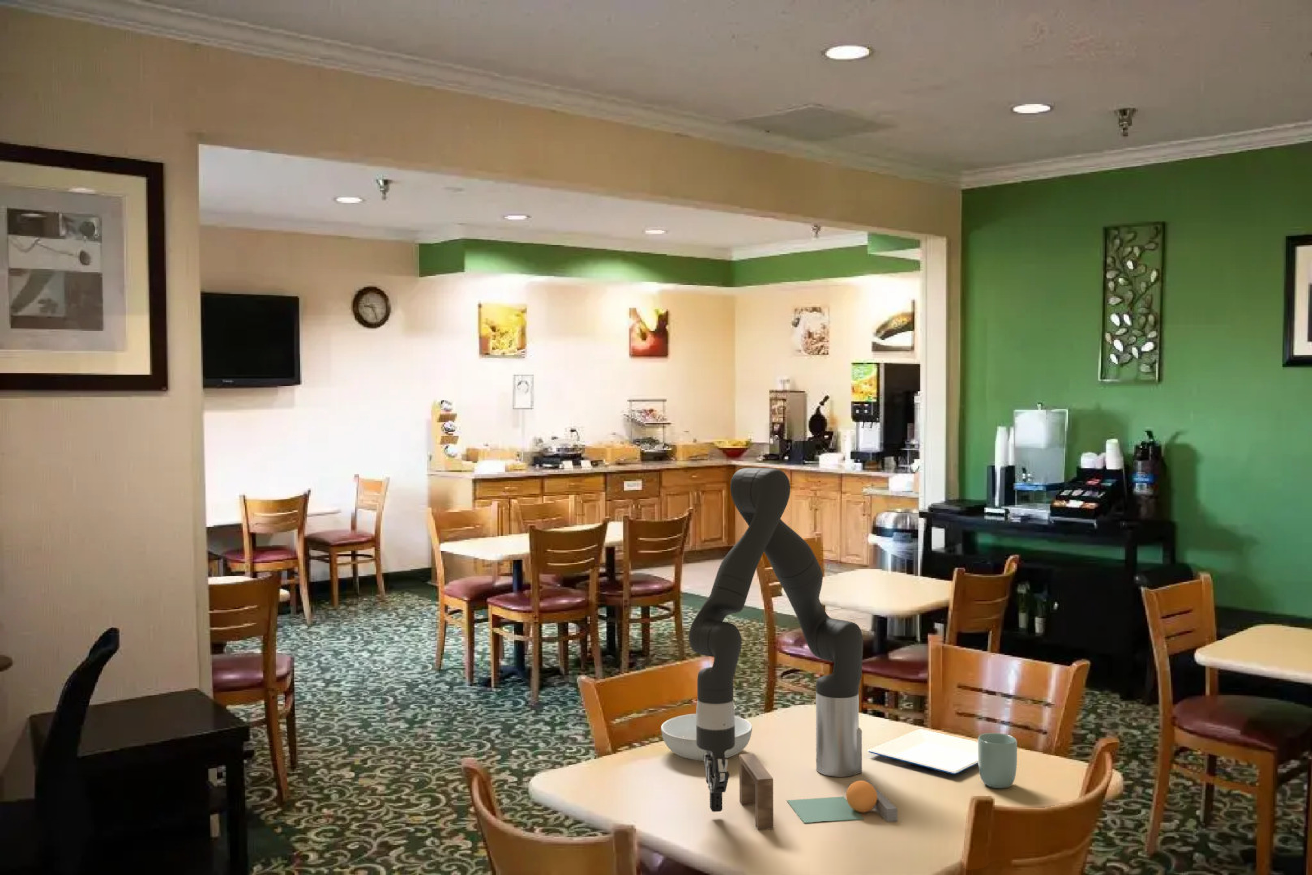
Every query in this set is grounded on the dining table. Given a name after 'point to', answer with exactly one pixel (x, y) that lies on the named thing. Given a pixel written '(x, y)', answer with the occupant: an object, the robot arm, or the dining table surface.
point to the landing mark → (824, 809)
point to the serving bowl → (687, 728)
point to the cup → (997, 759)
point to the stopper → (884, 806)
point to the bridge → (756, 789)
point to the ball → (861, 796)
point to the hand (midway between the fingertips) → (716, 809)
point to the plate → (931, 751)
